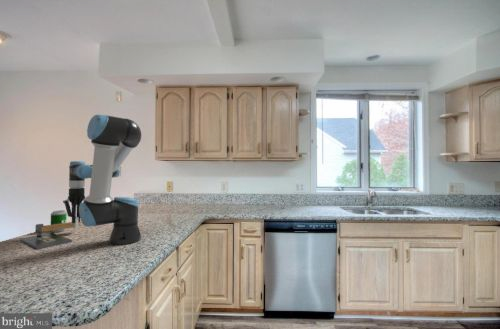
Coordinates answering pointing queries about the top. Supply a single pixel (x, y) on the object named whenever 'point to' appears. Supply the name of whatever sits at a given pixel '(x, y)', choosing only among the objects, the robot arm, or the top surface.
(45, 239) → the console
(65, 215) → the soda can
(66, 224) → the bar
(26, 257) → the top surface
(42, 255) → the top surface
